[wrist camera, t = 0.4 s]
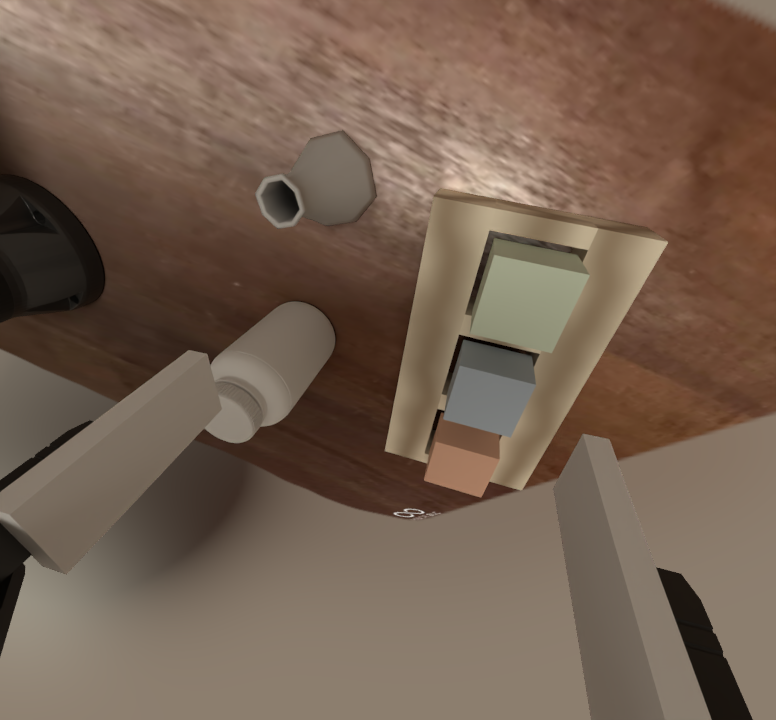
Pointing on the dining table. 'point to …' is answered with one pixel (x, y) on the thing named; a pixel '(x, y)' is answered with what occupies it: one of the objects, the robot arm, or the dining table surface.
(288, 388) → the pill bottle
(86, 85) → the dining table surface
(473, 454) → the button terracotta
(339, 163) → the flask
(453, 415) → the button slate
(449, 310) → the panel
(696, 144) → the dining table surface
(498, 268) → the button sage
